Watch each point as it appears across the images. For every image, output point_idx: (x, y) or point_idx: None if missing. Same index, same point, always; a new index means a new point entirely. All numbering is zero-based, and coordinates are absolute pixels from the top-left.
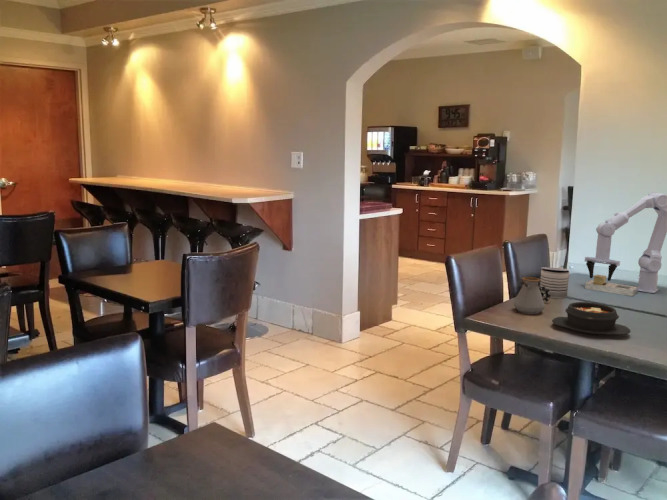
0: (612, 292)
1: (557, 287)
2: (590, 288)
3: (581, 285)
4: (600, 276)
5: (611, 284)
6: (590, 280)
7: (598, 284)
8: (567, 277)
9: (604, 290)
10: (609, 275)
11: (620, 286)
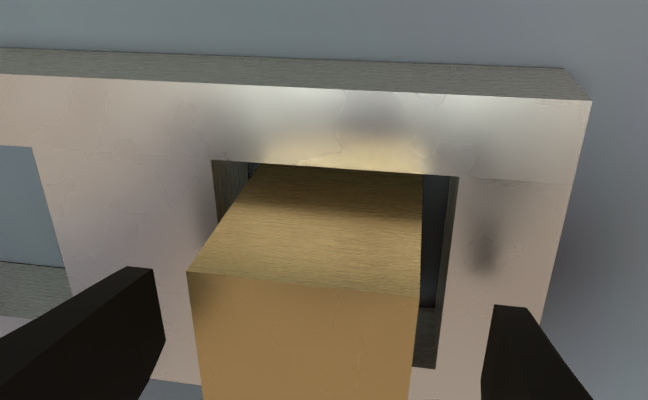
0: (83, 52)
1: None
2: (452, 69)
3: (642, 280)
4: (277, 319)
5: (159, 300)
6: None
7: (316, 159)
8: None
9: (203, 62)
10: (41, 326)
11: None
